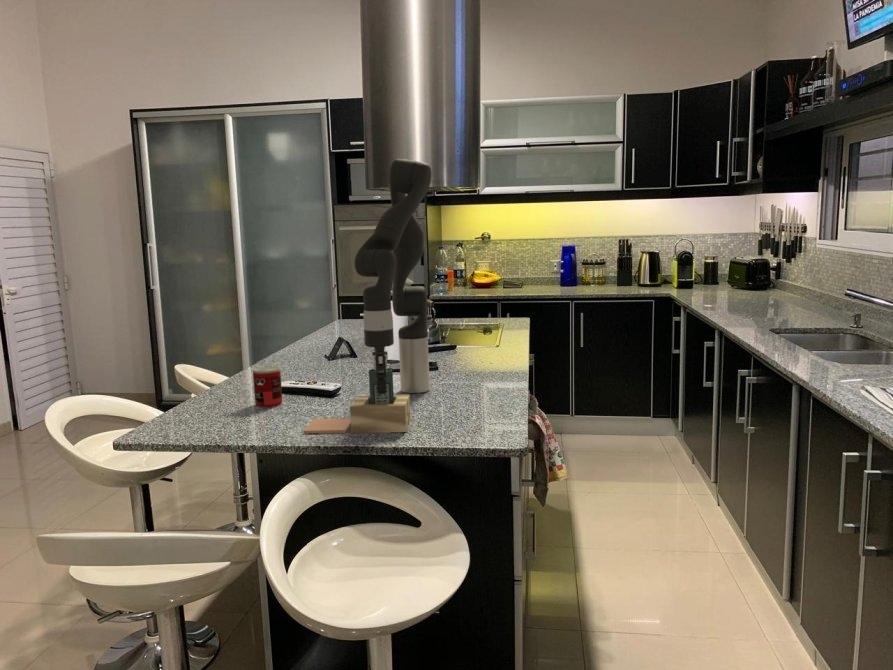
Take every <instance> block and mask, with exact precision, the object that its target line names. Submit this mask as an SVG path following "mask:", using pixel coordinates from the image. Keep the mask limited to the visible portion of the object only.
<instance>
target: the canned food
mask: <svg viewBox="0 0 893 670" xmlns="http://www.w3.org/2000/svg"><path fill="white" fill-rule="evenodd" d="M252 378H253V390H254V391H253V392H254V403H255V406H256V407H258V408H273V406H275V407H278V406H277V405H279V406H281V405H282V404H283V391H282V389H283V388H282V377H281V368H280V367H279V366H261V367H256V368H254V369H252ZM280 404H281V405H280Z"/></svg>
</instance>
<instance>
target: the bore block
mask: <svg viewBox="0 0 893 670" xmlns="http://www.w3.org/2000/svg"><path fill="white" fill-rule="evenodd" d="M410 397H411V396H410V394H394V404H370V394H369V395H357V396H356V398H355V400H354V401H353V402H352V403H351V404H350V407H349V411H350V414H349V415H350V419H351V426H350V430H351V431H350V432H351V433H354V434H392V433H391V432H406V433H407V431H408V429H407V428H409V426H410V423H411V420H412V419H411V399H410ZM409 422H410V423H409ZM408 425H409V426H408ZM406 430H407V431H406ZM377 432H378V433H377Z"/></svg>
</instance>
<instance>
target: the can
mask: <svg viewBox="0 0 893 670" xmlns="http://www.w3.org/2000/svg"><path fill="white" fill-rule="evenodd" d="M393 372H394V371H393V368H390V367H387V371H386V375H387V378H386V393H385V394H378V391H377V379H376V372H375V371H374V368H372V369H369V370H368V381H369V382H368V383H369V384H368V385H369V395H370V404H394V395H395V393H394V377H393V374H394V373H393ZM378 374H384V371H378Z"/></svg>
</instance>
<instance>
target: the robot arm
mask: <svg viewBox="0 0 893 670" xmlns="http://www.w3.org/2000/svg"><path fill="white" fill-rule="evenodd" d="M388 179H389V192H390V201H391V202H390V203H391V207H389V208H388V209H387V210H386V211H385V212H383V214H382V215H381V216H380V218H379V220H378V222H377V225H376V226H375V229H374V231H373V232H372V235H371V236H369V237H368V239H367V240H366V241H365V242H364V243H363V244H362V246H360V248H359V249H358V251H357V253H356V255H355V258H354V269H355V271H356V273H357V274H358V275H359V276H361V277H364V278H377V282H376V284H375V285H372V286H368V287H365V288H364V289H363V292H362V297H363V336H364V337H363V338H364V346H366V347H368V348H374V349H373V351H372V352H371V358H372V359H371V360H372V361H373V369H374V371H375V372H376V379H377V391H378V394H385V393H386V378H387V375H386V371H387V368H388V359H389V358H388V357H389V356H388V355H389V354H388V351H386V350H385V347H391V346H393V345H394V343H395V340H394V337H395V336H394V320H393V313H392V312H394V314H395V315H396V316H397V317H415V316H416V318H415V320H414V321H412V322H411V323H410V324H407V325H404V326H401V327H400V328H399V329H398V332H397V333H398V353H399V376H400V377H399V378H400V379H399V381H400V391H401V392H402V393H406V394H419V393H420V394H421V393H425V392H428V391H430V388H431V387H430V386H431V385H430V366H429V365H430V363H429V362H430V360H429V337H428V333H429V332H428V292H427V289H426V287H424V286H422V285H421V286H420V285H415V286H405V283H406V282H407V279H408V277H409V275H410V274H411V273H412V271H414V269H415V268H416V266H417V265H418V263H419V262H420V261H421V259H422V257H423V254H424V231H423V228H422V226H421V224H420V223H419V220H418V219H417V218H416V216H415V215H414V214H415V212H416V210H417V209H418V208H419V207H420V204H421V202H423V199H424V198H425V197H426V195H427V193H428V191H429V189H430V186H431V184H432V183H431V182H432V169H431V165H430V164H429V163H427V162H422V161H417V160H412V159H405V158H396V159H393V161H392V162H391V165H390V168H389V178H388ZM391 295H392V297H391ZM392 310H393V311H392ZM378 371H384V374H378Z"/></svg>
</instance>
